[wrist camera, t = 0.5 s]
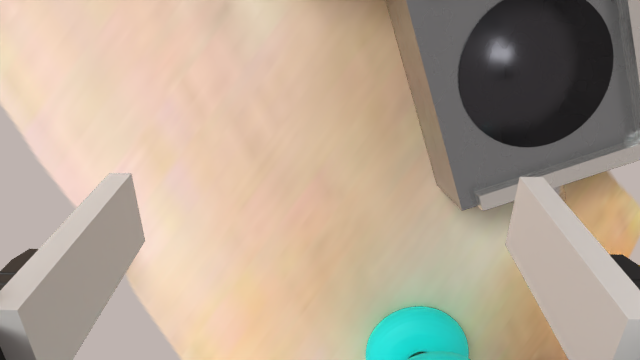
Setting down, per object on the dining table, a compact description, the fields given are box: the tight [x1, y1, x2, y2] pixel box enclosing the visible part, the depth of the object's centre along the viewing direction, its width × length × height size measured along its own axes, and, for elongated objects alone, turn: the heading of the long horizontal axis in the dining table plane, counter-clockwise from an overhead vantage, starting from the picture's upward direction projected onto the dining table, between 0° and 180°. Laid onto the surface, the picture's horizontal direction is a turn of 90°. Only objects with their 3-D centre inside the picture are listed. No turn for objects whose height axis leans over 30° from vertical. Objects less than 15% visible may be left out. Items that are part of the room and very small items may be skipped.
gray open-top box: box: [386, 0, 640, 211], centre depth 37 cm, size 20×15×8 cm
